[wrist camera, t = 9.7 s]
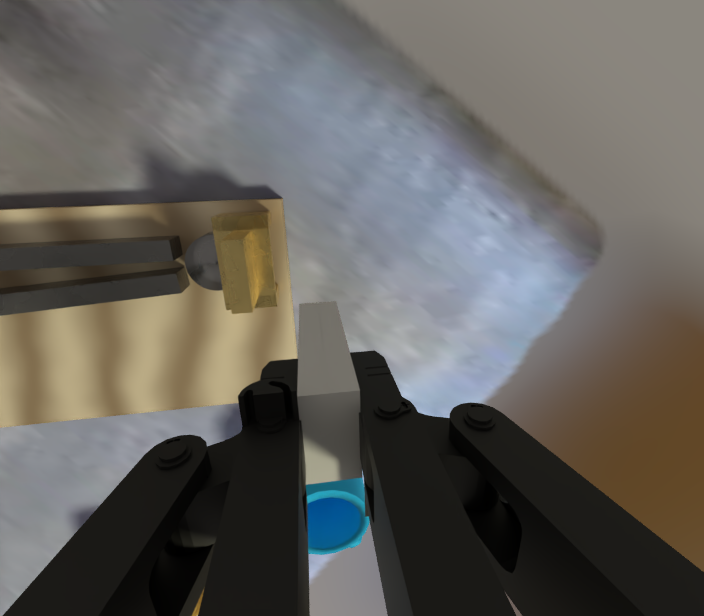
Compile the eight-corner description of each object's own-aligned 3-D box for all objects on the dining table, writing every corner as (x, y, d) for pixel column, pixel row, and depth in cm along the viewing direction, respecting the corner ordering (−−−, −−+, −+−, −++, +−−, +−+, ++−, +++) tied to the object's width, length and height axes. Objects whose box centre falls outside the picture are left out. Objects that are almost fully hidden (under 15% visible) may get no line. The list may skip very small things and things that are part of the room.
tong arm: (-109, 322, 28) (-145, 335, 26) (-121, 301, 27) (-160, 312, 25) (190, 285, 30) (181, 294, 28) (185, 265, 30) (175, 272, 27)
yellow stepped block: (233, 298, 31) (214, 330, 24) (219, 213, 29) (195, 224, 22) (279, 294, 32) (273, 325, 25) (270, 211, 29) (261, 221, 22)
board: (-55, 423, 33) (-71, 434, 32) (-164, 215, 27) (-190, 217, 25) (300, 388, 37) (300, 396, 36) (282, 198, 30) (281, 199, 29)
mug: (271, 451, 39) (265, 517, 32) (336, 417, 39) (345, 475, 31) (324, 516, 44) (329, 587, 36) (382, 486, 43) (400, 551, 36)
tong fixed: (-119, 304, 28) (-157, 316, 25) (-148, 248, 26) (-192, 255, 24) (251, 280, 31) (247, 289, 29) (244, 229, 29) (239, 234, 27)
